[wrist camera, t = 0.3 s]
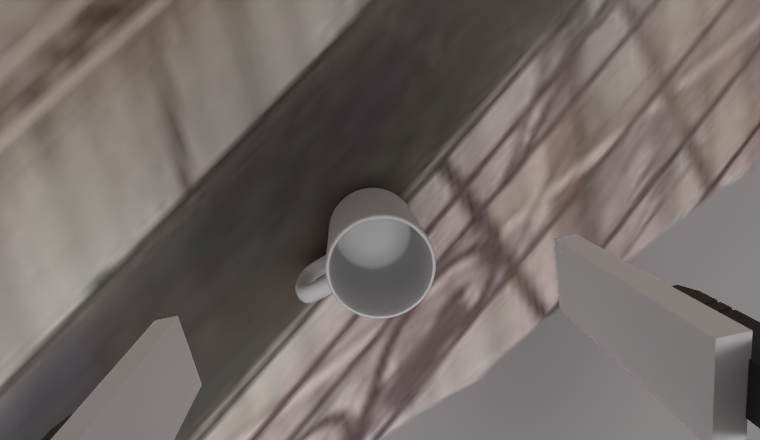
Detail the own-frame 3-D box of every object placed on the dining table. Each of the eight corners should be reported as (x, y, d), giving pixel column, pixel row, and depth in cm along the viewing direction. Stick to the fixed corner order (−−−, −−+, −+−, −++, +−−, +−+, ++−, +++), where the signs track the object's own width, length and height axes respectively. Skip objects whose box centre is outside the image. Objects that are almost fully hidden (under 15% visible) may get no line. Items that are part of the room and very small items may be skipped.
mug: (390, 171, 41) (406, 193, 31) (428, 244, 43) (455, 288, 33) (281, 229, 42) (261, 270, 31) (325, 298, 44) (319, 359, 33)
